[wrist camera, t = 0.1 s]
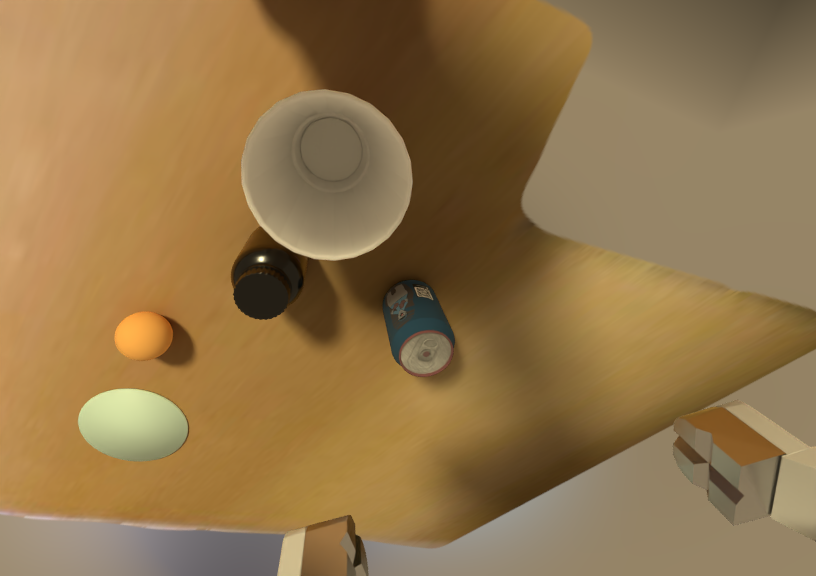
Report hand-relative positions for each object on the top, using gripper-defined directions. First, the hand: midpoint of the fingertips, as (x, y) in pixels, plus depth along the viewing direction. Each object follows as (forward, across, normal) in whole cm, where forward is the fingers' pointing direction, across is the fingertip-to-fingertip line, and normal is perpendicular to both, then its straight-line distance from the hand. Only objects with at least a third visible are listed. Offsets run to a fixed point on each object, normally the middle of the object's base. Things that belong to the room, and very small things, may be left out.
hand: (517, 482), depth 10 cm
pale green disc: (+41, +40, +20) cm, 61 cm away
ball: (+37, +30, +7) cm, 48 cm away
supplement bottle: (+39, +13, +2) cm, 42 cm away
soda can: (+40, 0, +13) cm, 42 cm away
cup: (+38, +4, -7) cm, 39 cm away
